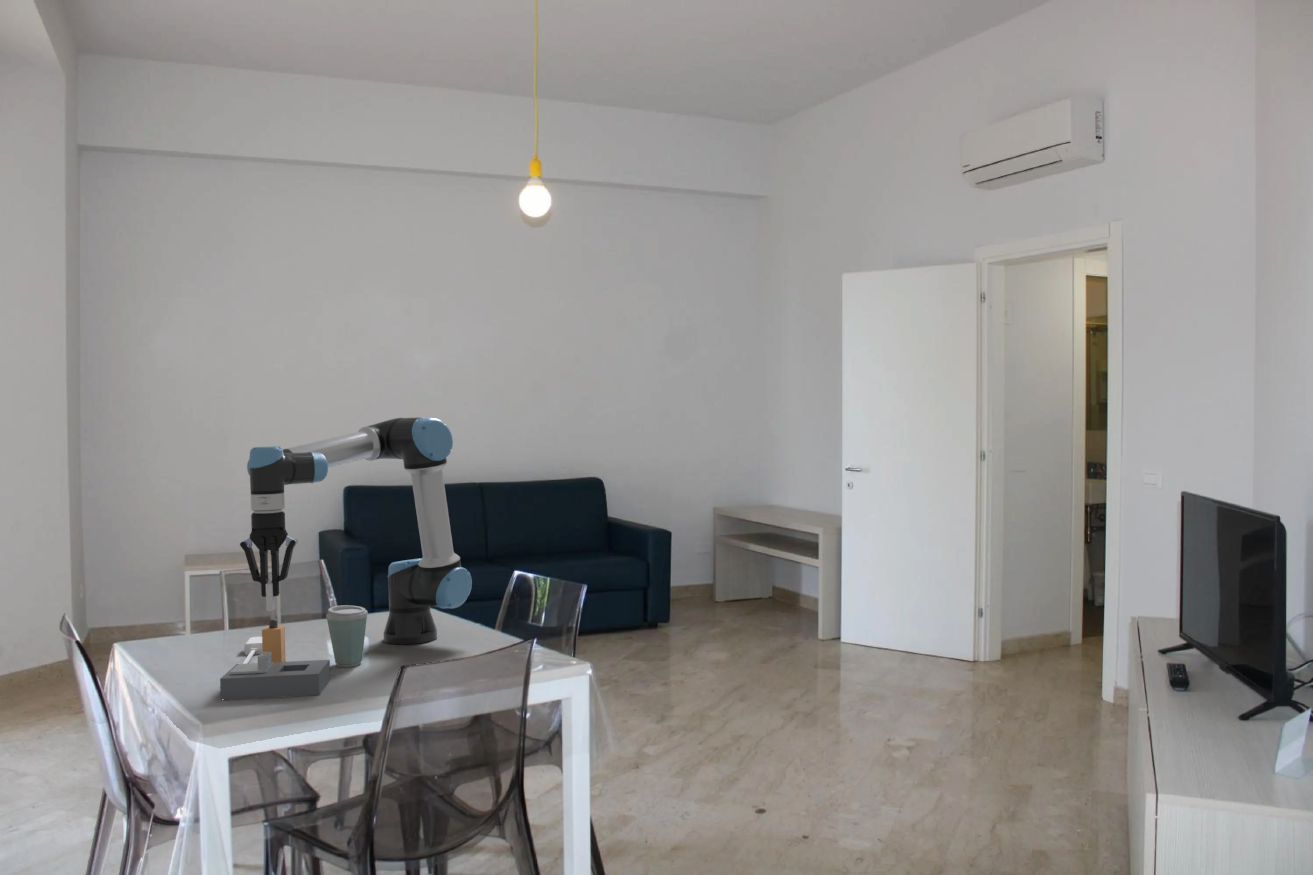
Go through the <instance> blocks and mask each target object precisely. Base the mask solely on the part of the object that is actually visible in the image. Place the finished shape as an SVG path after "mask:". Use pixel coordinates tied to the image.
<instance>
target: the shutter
mask: <svg viewBox="0 0 1313 875" xmlns="http://www.w3.org/2000/svg"><path fill="white" fill-rule="evenodd" d="M237 664H238V665H237V666H236V667H235V668H234V669H233V670H231V669H230V670H231V671H230V675H234V674H255V673H266V672H267V671H268V670H269V669H270V668H271V667H272V666H273V662H272V653H271V651H269V652H262V653H261V654H258V656H257V662H252V663H251V662H250V663H249V662H248V664H243V663H237Z"/></svg>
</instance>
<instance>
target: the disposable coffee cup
mask: <svg viewBox="0 0 1313 875" xmlns="http://www.w3.org/2000/svg"><path fill="white" fill-rule="evenodd" d="M367 618H368V610H367V609H366V608H365V607H363V606H358V605H349V604H347V605H346V604H345V605H333V606H331V607H329V608H328V609H327V613H326V614H325V620H326V621H327V626H328V631H329V636H330V642H331V645H332V646H331V647H332V653H333V657H334V661H335V662H334V663H335V664H336V666H337V667H339V666H340V667H339V668H352V667H356V666H360V665H361V664H362V661H363V655H364V646H365V639H366V637H365V636H366V629H367ZM359 664H360V665H359Z"/></svg>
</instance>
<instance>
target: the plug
mask: <svg viewBox="0 0 1313 875" xmlns="http://www.w3.org/2000/svg"><path fill="white" fill-rule="evenodd" d="M278 624H279V623H278V618H271V619H269V620H268V625H266V626H265V627H263V628H262V629H261V637H262V650H263V652H269V651H271V653H272V662H287V661H286V660H287V659H286V658H287V657H286V656H287V655H286V630H285V629H286V627H285V626H286V625H278Z"/></svg>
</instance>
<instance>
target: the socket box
mask: <svg viewBox="0 0 1313 875" xmlns="http://www.w3.org/2000/svg"><path fill="white" fill-rule="evenodd" d="M330 660H331V659H317V660H313V659H312V660H297V661H295V660H293V661H286V662H273V666H272V667H271V668H270V669H269V670H268V671H267V672H266V673H255V674H234V675H230V671H231V670H233V669H234V668H235V667H236V666H237V665H238V664H239V663H237V664H235V665H234V666H232V667H231V669H229V670H228V671H227V672H226V673H224V675H223V676H222V677H220V678H219V679H220V680H219V681H220V682H219V683H220V684H219V686H220V692H219V693H220V701H223V700H222V699H235V700H250V699H253V700H254V699H270V698H273V699H274V698H289V697H291V698H292V697H306V696H307V697H308V696H309V697H310V696H320V695H321V693H322V692H323V691H324V689H325V688H326V686H327V685H328V684H329V682H330V681H331V665H330V664H331V663H330Z"/></svg>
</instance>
